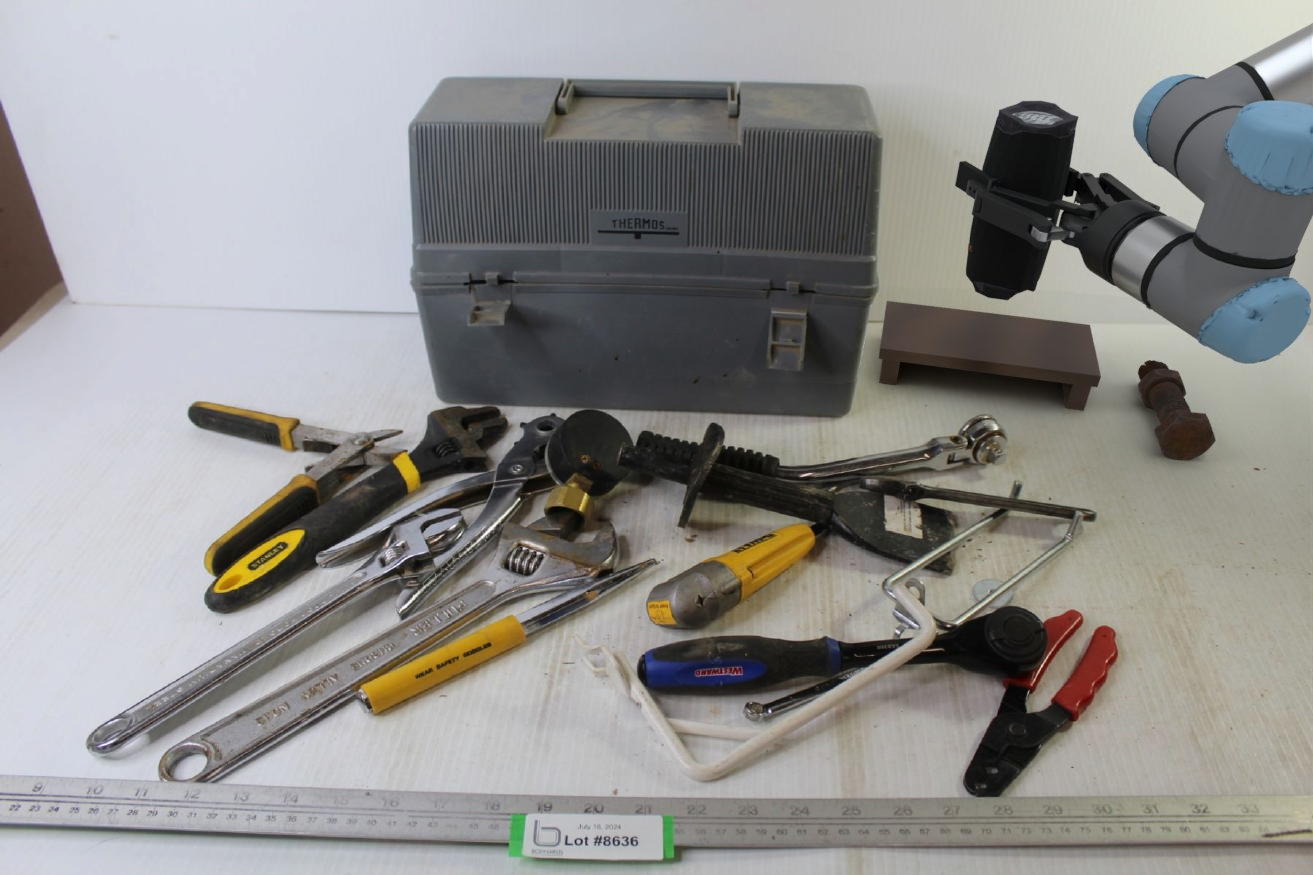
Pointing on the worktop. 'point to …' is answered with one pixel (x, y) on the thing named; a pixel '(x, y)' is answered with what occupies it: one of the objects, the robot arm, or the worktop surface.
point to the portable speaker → (1027, 162)
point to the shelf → (990, 346)
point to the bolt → (1174, 413)
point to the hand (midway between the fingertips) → (998, 168)
